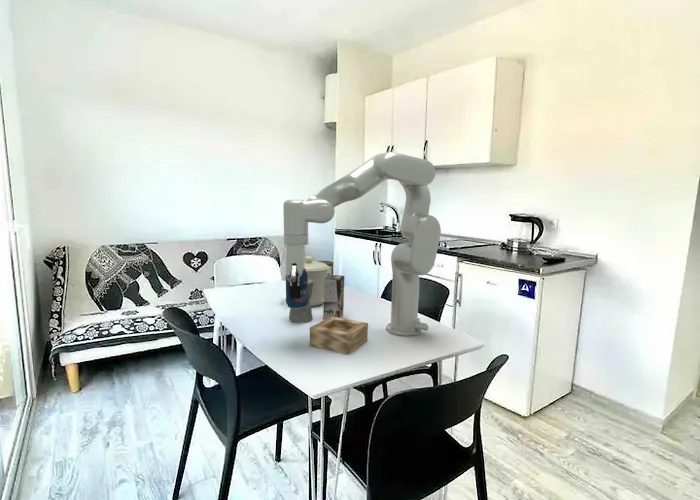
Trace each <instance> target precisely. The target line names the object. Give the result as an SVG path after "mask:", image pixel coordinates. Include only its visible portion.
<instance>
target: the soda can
mask: <svg viewBox="0 0 700 500" xmlns="http://www.w3.org/2000/svg"><path fill="white" fill-rule="evenodd" d="M296 276H298V274H296ZM296 279H297V281H298V278H296ZM290 280H291V273H290V276H289V277H287V276H286V275H285V303H286V305H287V306H288V308H289V309H290V308H292V309H300V308H304V307H306V305H307V303H308V274H307V272H306V269H304V270H303V274H302V276H301V277H300V286H301V298H299V299H294V298H290Z"/></svg>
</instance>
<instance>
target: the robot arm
mask: <svg viewBox="0 0 700 500" xmlns="http://www.w3.org/2000/svg"><path fill="white" fill-rule="evenodd" d="M435 177H436V169H435V166H434V164H433V163H432V162H431V161H430V160H428V159H424V158H420V157H416V156H411V155H407V154H403V153H400V152H393V151H390V152H389V151H388V152H383V153H378V154H376V155H373V156H372V157H371V158H369V159H368V160H367V161H365V162H363V163H362V164H361V165H359V166H358V167H356V168H355V169H353V170H352V171H351V172H349V173H348V174H345V175H344V176H342V177H341V178H339V179H337V180H336V181H334V182H332V183H331V184H329V185H326V186H325V187H324V188H322V189H321V190H319V191H317V192H316V193H315V194H313V195H312V196H310V197H308V198H307V199H306V200H305V199H286V200H285V201H284V202H283V244H284V246H286V253H285V254H286V257H285V258H286V259H285V277H286V276H287V277H289V276H290V273H291V280H290V298H294V299H299V298H301V286H300V277H301V276H302V274H303V270H304V269H305V257H306V251H305V250H306V249H305V248H306V247H305V246H307V245H309V223H314V224H315V223H316V224H326V223H328V222H330V221H331V220H332V219H333V218H334V216H335V208H336V207H337V206H339V205H341V204H344V203H346V202H350V201H355V200H357V199H360V198H362V197H363V196H365V195H366V194H367V193H369V192H371V191H372V190H373V189H375V188H376V187H378V186H379V185H380V184H381V183H383V182H384V181H386V180H394V181H398V183H399V184H400V185H401V186H402V188H403V190H404V193H405V204H404V208H403V209H404V210H403V214H402V219H401V224H400V233H401V235H402V236H403V237H404V238H405V239H407V240H410V241H412V243H408V242H403V243H399V244H397V245H396V246H395V247H393V249H392V252H391V255H390V261H391V270H392V284H391V289H392V290H391V303H390V304H391V305H390V307H391V308H390V310H391V312H390V323H387V324H386V326H385V330H386V331H387V332H388V333H390V334H393V335H396V336H404V337H408V336H409V337H410V336H413V337H414V336H417V335H419V334H420V333H421V332H422V331H427V332H428V331H429V329H430V328H429V325H428V324H427V323H425V322H421V319H420V318H419V317H418V313H419V297H420V296H419V295H420V276H425V275H428V273H430V272H431V271H432V270H433V267H434V266H435V263H436V258H437V252H438V249H439V244H440V241H441V234H442V232H441V231H442V230H441V224H440V221H439V219H437V217H435V216H433V215H432V214H429V213H430V206H431V192H430V189H429V187H428V186H429V184H432V182H433V181H435V180H434V179H435ZM296 274H298V276H296ZM296 278H298V281H297V279H296Z"/></svg>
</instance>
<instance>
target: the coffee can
mask: <svg viewBox="0 0 700 500" xmlns="http://www.w3.org/2000/svg"><path fill="white" fill-rule="evenodd" d="M316 261H317V262H322V263H325V264H326V265H328V266H329V269H328V273H327V277H328V276H329V275H334V261H330V260H316Z"/></svg>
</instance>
